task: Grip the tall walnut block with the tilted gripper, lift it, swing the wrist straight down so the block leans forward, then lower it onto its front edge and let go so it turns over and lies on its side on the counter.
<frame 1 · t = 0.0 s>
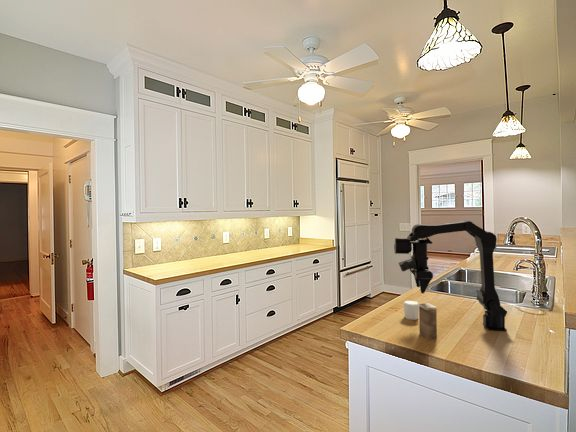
hand: (420, 290, 131), 15 cm above the worktop, tool pointing down, fingers open, 9 cm apart
walnut block: (428, 335, 120), on the worktop
white cylinder: (411, 317, 139), on the worktop
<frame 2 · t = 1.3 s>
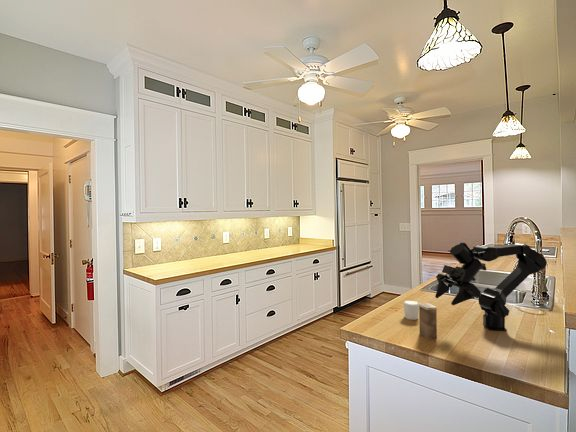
hand: (443, 300, 121), 13 cm above the worktop, tool tilted 45°, fingers open, 9 cm apart
nothing on the worktop moved.
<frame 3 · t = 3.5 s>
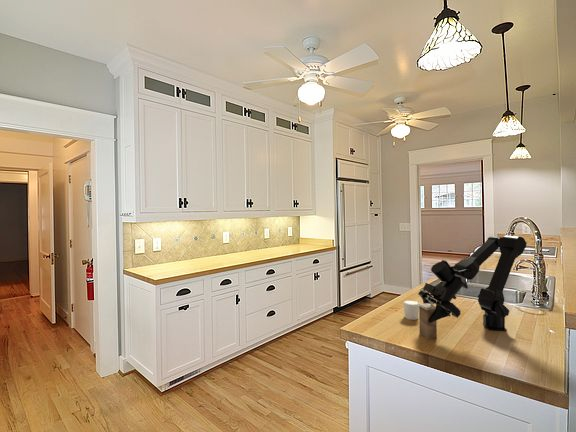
hand: (424, 319, 119), 7 cm above the worktop, tool tilted 45°, fingers closed on walnut block, 5 cm apart
walnut block: (428, 335, 120), on the worktop, touching gripper
everything else where it was.
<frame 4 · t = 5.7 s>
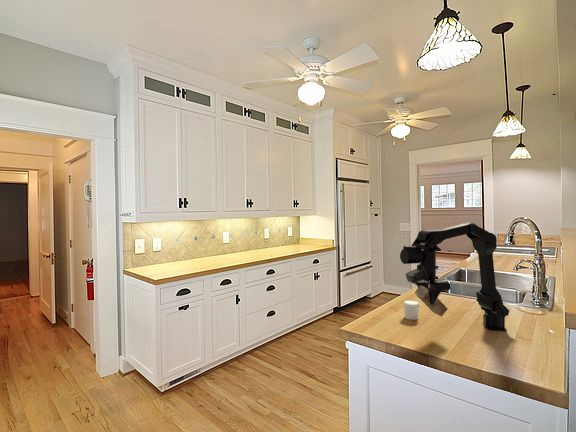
hand: (427, 302, 119), 13 cm above the worktop, tool pointing down, fingers closed on walnut block, 5 cm apart
walnut block: (440, 310, 121), point 9 cm above the worktop, tilted 44°, touching gripper
everything else where it was.
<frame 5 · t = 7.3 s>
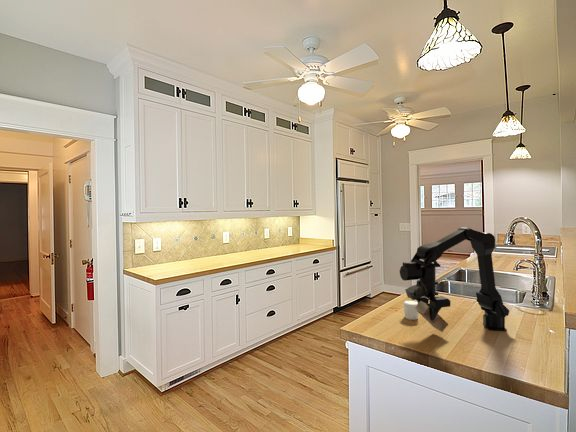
hand: (427, 317, 120), 7 cm above the worktop, tool pointing down, fingers closed on walnut block, 5 cm apart
walnut block: (440, 325, 121), point 3 cm above the worktop, tilted 45°, touching gripper
everything else where it was.
when the fingers open (6 cm above the worktop, at t = 8.0 s): walnut block moves 2 cm and tips over, point 2 cm above the worktop.
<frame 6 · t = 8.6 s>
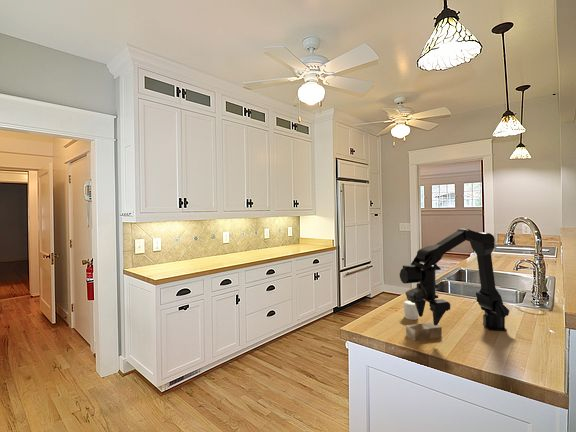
hand: (427, 320, 120), 6 cm above the worktop, tool pointing down, fingers open, 9 cm apart
walnut block: (437, 329, 121), point 2 cm above the worktop, tilted 90°
everything else where it was.
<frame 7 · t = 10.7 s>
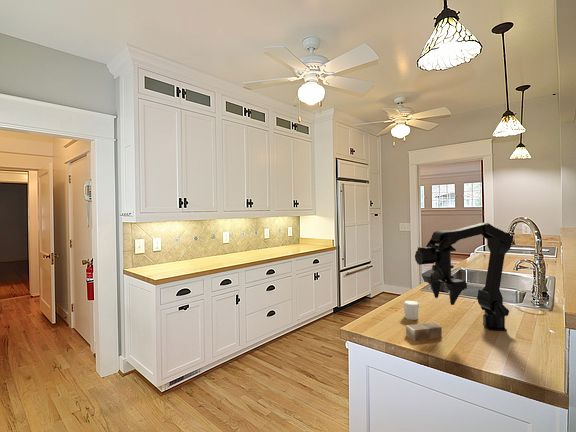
hand: (444, 301, 122), 12 cm above the worktop, tool pointing down, fingers open, 9 cm apart
nothing on the worktop moved.
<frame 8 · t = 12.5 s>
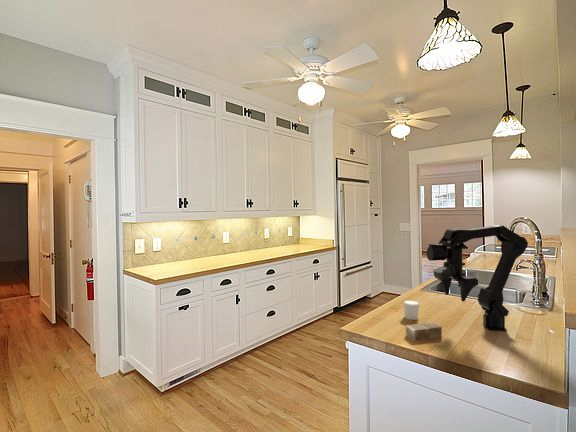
hand: (454, 297, 125), 13 cm above the worktop, tool pointing down, fingers open, 9 cm apart
nothing on the worktop moved.
at the end: walnut block tilted 90°; walnut block inside the target area (1.0 cm from its centre), point 1.9 cm above the worktop; the gripper is holding nothing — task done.
